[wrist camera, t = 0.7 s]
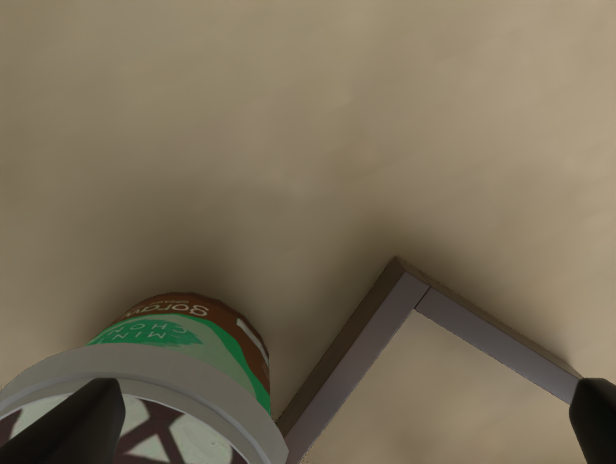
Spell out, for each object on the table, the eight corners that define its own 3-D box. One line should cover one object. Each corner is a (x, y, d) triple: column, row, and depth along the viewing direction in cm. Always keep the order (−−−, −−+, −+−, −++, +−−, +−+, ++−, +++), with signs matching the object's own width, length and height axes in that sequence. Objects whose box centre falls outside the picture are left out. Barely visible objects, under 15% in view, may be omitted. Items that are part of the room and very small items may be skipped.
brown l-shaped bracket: (396, 568, 28) (404, 610, 25) (232, 483, 26) (225, 519, 24) (570, 365, 25) (599, 391, 22) (394, 254, 23) (405, 269, 21)
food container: (261, 243, 23) (228, 330, 13) (294, 347, 24) (286, 495, 15) (42, 304, 24) (-144, 429, 14) (86, 401, 25) (-54, 577, 15)
